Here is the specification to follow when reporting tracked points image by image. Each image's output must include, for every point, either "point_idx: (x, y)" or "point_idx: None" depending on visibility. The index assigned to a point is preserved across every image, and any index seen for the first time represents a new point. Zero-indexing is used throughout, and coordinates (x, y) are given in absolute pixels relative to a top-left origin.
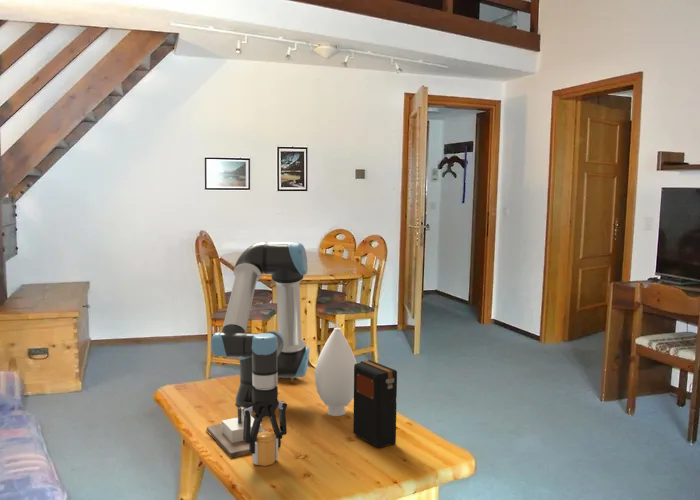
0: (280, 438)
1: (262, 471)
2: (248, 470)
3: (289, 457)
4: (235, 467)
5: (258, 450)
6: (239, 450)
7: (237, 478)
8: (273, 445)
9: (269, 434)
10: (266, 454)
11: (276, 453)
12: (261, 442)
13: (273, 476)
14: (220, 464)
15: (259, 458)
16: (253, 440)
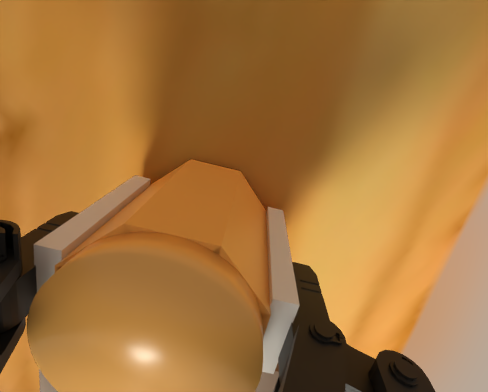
0: (5, 227)
1: (293, 128)
2: (343, 197)
3: (57, 166)
4: (366, 271)
5: (264, 255)
6: (261, 375)
7: (463, 158)
8: (128, 212)
9: (84, 345)
10: (221, 193)
11: (127, 192)
12: (246, 281)
13: (287, 7)
14: (393, 340)
15: (259, 218)
16: (329, 349)
